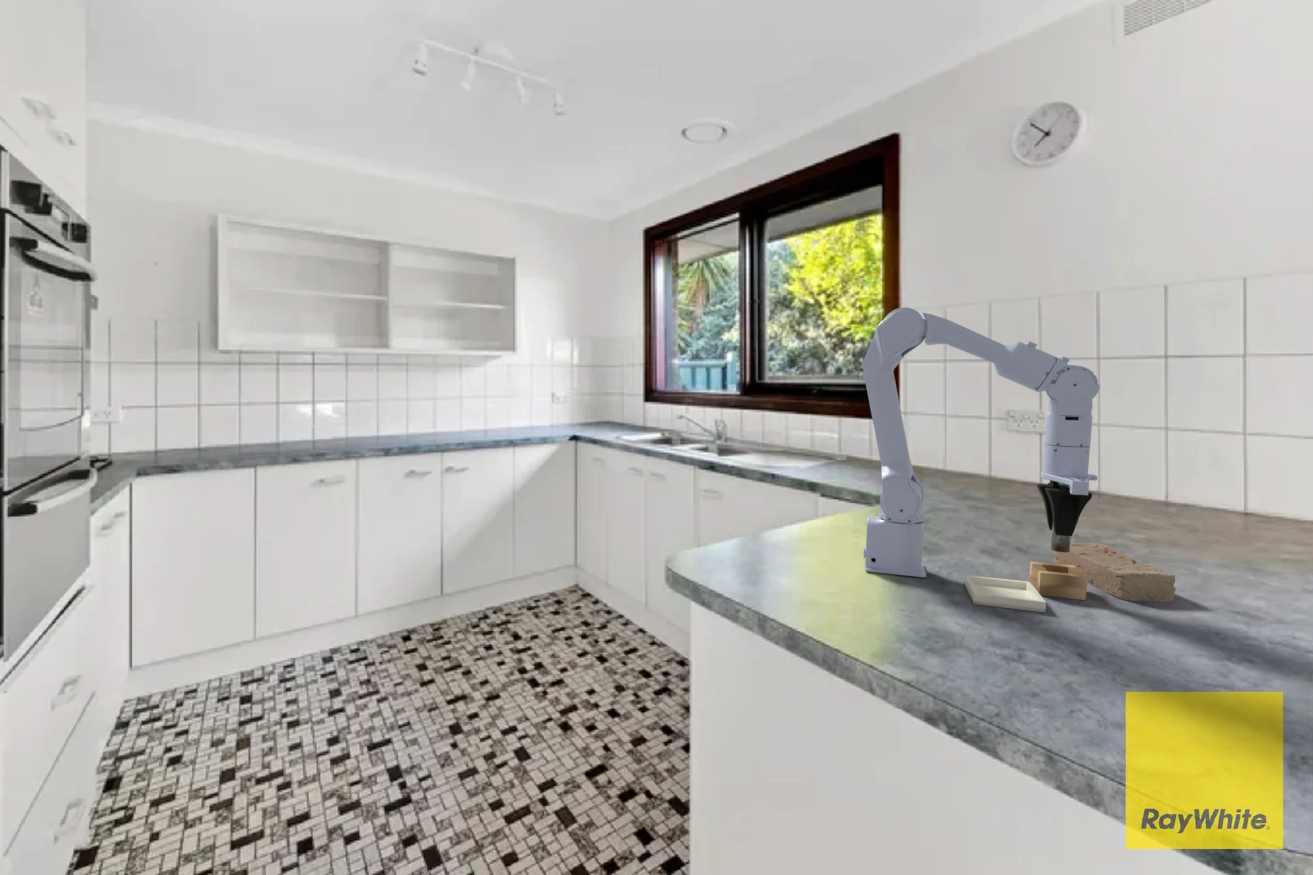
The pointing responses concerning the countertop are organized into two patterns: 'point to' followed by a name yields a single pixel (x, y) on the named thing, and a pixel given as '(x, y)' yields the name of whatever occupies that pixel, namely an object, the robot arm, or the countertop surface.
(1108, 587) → the brick
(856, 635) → the countertop surface
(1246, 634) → the countertop surface
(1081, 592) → the wooden square frame
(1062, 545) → the cylinder
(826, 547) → the countertop surface
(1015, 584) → the tray
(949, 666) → the countertop surface
